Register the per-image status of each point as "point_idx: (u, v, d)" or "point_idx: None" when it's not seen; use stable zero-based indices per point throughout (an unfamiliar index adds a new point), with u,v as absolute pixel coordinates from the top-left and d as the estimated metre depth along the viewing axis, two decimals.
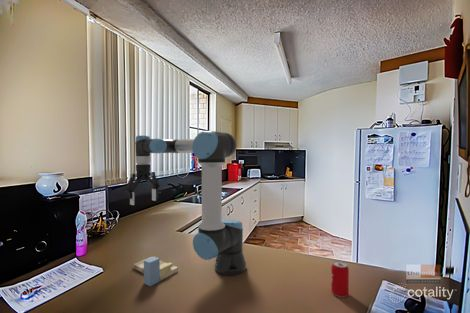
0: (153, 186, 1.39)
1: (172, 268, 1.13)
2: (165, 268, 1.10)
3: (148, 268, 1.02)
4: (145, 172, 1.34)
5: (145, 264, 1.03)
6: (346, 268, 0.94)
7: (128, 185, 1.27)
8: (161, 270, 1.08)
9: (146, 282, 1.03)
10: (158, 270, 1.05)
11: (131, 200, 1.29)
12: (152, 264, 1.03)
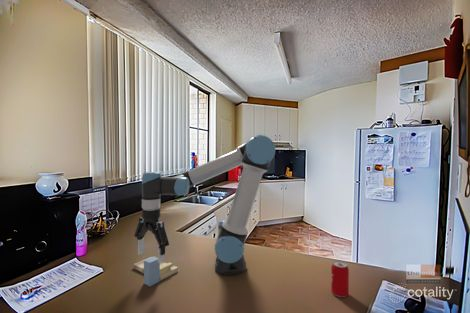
0: None
1: (172, 268, 1.13)
2: (165, 268, 1.10)
3: (148, 268, 1.02)
4: (149, 220, 1.03)
5: (145, 264, 1.03)
6: (346, 268, 0.94)
7: None
8: (161, 270, 1.08)
9: (146, 282, 1.03)
10: (158, 270, 1.05)
11: None
12: (152, 264, 1.03)
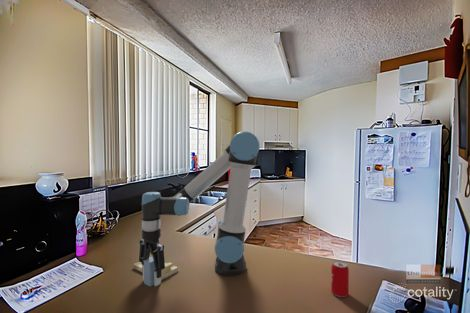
0: None
1: (172, 268, 1.13)
2: (165, 268, 1.10)
3: (148, 268, 1.02)
4: (150, 240, 1.03)
5: (145, 264, 1.03)
6: (346, 268, 0.94)
7: None
8: (161, 270, 1.08)
9: (146, 282, 1.03)
10: None
11: None
12: (152, 264, 1.03)
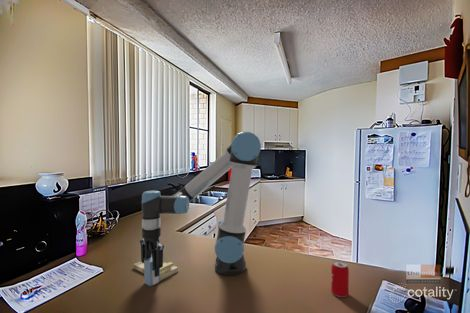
0: None
1: (172, 268, 1.13)
2: (165, 268, 1.10)
3: (148, 267, 1.02)
4: (150, 239, 1.03)
5: (145, 264, 1.04)
6: (346, 268, 0.94)
7: None
8: (161, 270, 1.08)
9: (146, 282, 1.03)
10: None
11: None
12: (152, 264, 1.03)
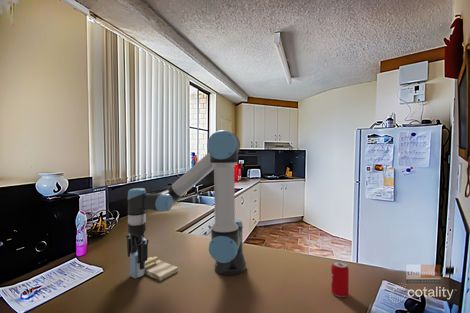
0: None
1: (172, 268, 1.13)
2: (151, 261, 1.16)
3: (134, 261, 1.08)
4: (135, 234, 1.09)
5: (130, 258, 1.09)
6: (346, 268, 0.94)
7: None
8: (147, 263, 1.14)
9: (132, 274, 1.09)
10: None
11: None
12: (137, 257, 1.09)
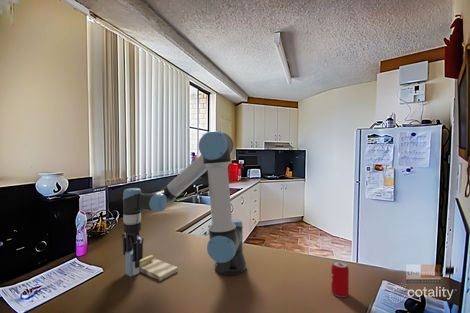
0: None
1: (172, 268, 1.13)
2: (146, 260, 1.18)
3: (129, 259, 1.10)
4: (131, 233, 1.11)
5: (126, 256, 1.12)
6: (346, 268, 0.94)
7: None
8: (142, 262, 1.16)
9: (127, 272, 1.11)
10: (139, 262, 1.13)
11: None
12: None
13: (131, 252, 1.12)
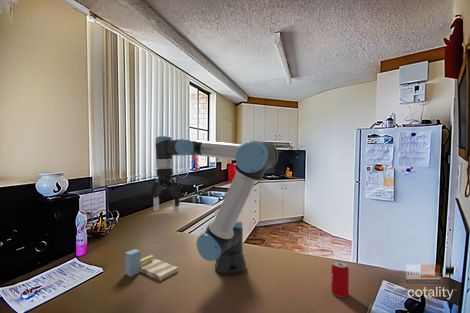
0: None
1: (172, 268, 1.13)
2: (146, 260, 1.18)
3: (129, 259, 1.10)
4: (164, 178, 1.18)
5: (126, 256, 1.12)
6: (346, 268, 0.94)
7: None
8: (142, 262, 1.16)
9: (127, 272, 1.11)
10: (139, 262, 1.13)
11: None
12: (133, 256, 1.11)
13: (131, 252, 1.12)
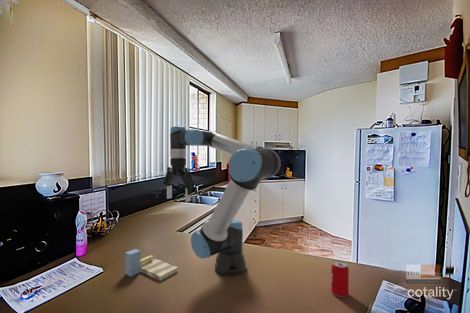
0: (186, 184, 1.19)
1: (172, 268, 1.13)
2: (146, 260, 1.18)
3: (129, 259, 1.10)
4: (177, 167, 1.22)
5: (126, 256, 1.12)
6: (346, 268, 0.94)
7: None
8: (142, 262, 1.16)
9: (127, 272, 1.11)
10: (139, 262, 1.13)
11: None
12: (133, 256, 1.11)
13: (131, 252, 1.12)
